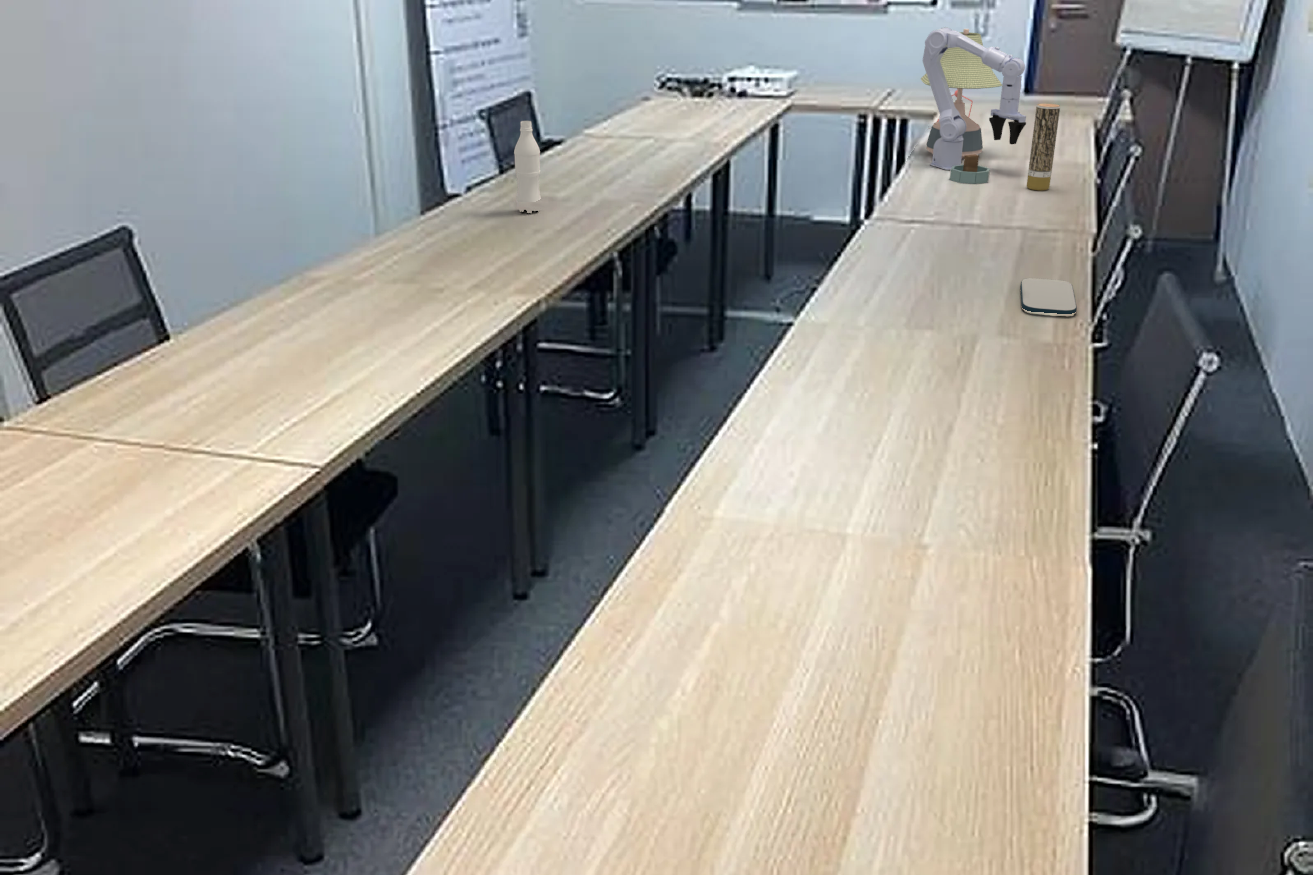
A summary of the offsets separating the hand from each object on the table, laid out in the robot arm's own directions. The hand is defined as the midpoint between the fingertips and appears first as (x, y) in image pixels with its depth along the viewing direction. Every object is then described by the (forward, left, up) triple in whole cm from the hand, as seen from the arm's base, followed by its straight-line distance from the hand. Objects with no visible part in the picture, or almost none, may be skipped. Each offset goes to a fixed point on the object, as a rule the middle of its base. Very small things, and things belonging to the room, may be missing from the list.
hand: (1004, 141), depth 398 cm
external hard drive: (+112, -80, -11) cm, 138 cm away
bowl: (+4, -16, -10) cm, 19 cm away
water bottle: (-13, -157, -10) cm, 158 cm away
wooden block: (+4, -16, -9) cm, 19 cm away
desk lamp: (-29, +4, -10) cm, 31 cm away
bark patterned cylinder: (+23, -5, -10) cm, 26 cm away
